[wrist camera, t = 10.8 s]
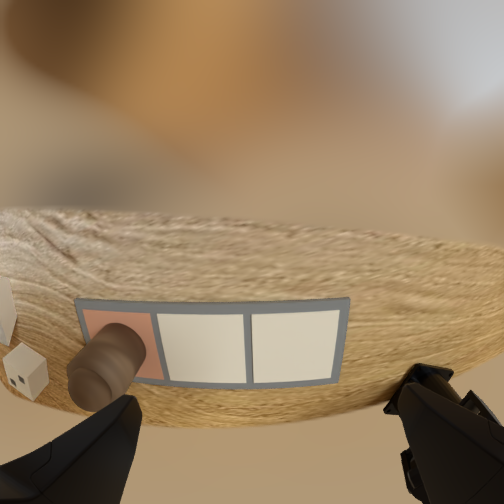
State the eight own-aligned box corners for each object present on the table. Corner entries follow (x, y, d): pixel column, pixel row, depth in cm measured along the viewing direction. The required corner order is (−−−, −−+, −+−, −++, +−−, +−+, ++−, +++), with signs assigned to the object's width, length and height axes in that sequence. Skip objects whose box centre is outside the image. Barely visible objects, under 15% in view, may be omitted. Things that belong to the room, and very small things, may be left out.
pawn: (149, 335, 20) (110, 397, 12) (142, 374, 21) (109, 436, 13) (101, 314, 19) (49, 364, 12) (98, 354, 20) (56, 407, 13)
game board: (348, 297, 20) (350, 299, 19) (336, 380, 21) (338, 383, 21) (76, 298, 20) (73, 300, 19) (99, 373, 22) (97, 376, 21)
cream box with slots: (46, 358, 22) (26, 378, 18) (49, 382, 23) (32, 402, 19) (22, 341, 21) (1, 359, 17) (26, 366, 22) (8, 383, 18)
